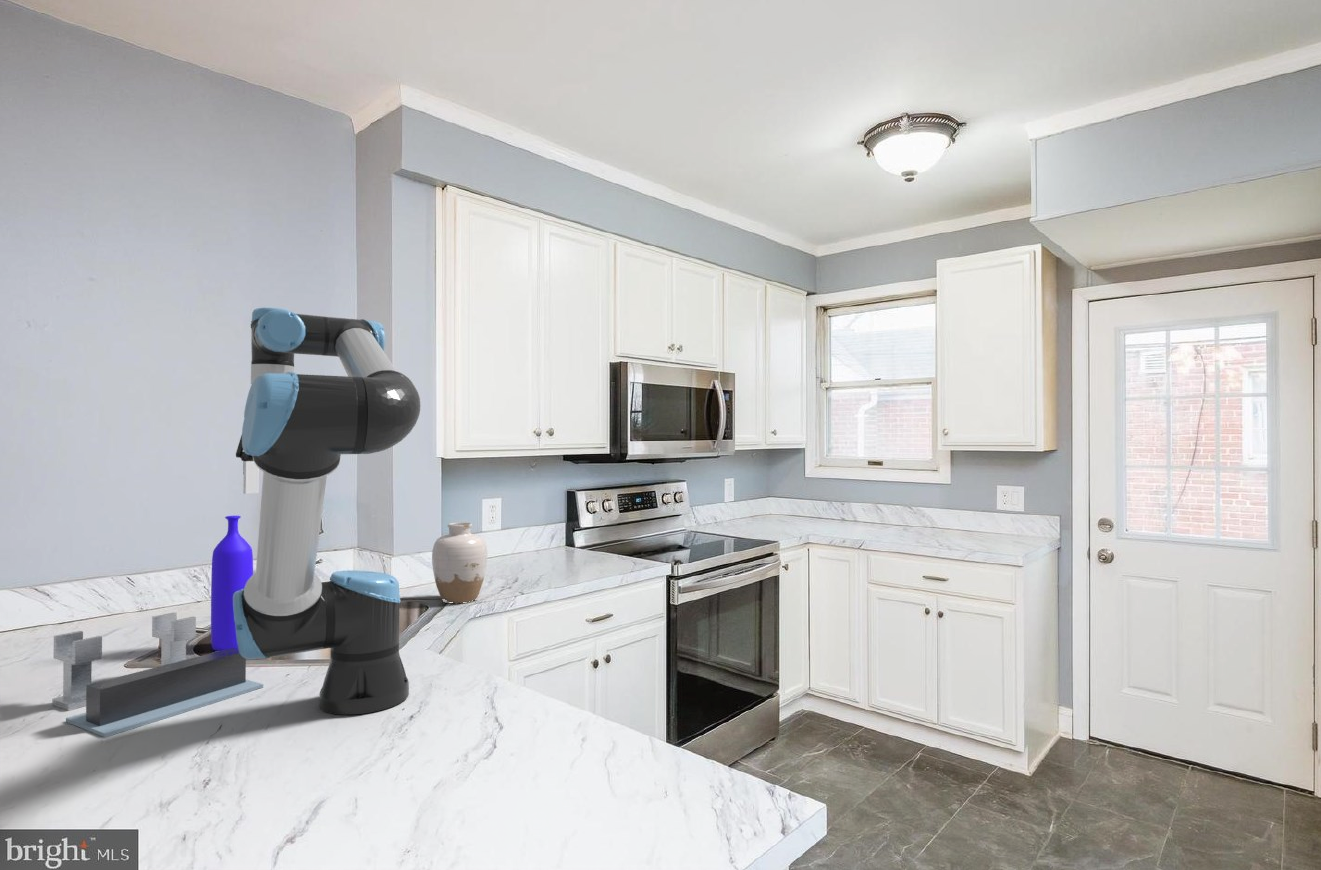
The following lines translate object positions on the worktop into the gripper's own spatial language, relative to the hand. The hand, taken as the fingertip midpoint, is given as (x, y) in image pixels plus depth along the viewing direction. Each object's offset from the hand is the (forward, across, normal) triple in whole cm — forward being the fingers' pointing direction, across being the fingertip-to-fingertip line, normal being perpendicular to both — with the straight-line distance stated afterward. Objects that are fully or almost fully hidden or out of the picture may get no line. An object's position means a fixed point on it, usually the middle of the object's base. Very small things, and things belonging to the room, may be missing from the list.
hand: (271, 494), depth 139 cm
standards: (+37, +19, +16) cm, 44 cm away
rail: (+36, +4, +16) cm, 40 cm away
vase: (+37, +18, -70) cm, 81 cm away
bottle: (+37, +30, -10) cm, 49 cm away
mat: (+37, +4, +16) cm, 40 cm away
